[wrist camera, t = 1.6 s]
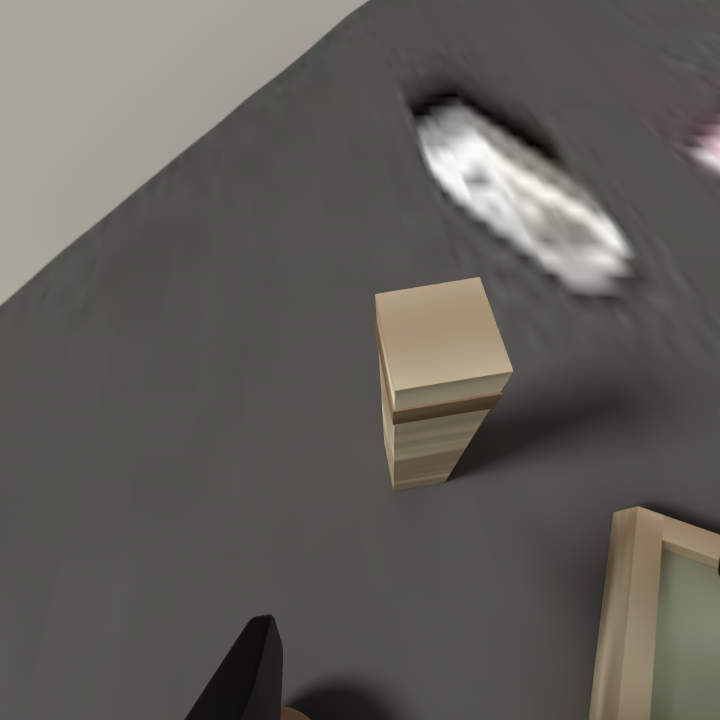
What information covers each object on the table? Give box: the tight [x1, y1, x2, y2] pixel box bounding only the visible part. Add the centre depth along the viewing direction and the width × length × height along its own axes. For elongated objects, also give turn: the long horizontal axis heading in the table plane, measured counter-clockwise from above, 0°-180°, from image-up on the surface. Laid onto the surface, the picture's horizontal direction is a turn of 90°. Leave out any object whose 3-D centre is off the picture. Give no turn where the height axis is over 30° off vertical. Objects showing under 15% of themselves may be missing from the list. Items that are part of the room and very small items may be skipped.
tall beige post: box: [375, 277, 513, 491], centre depth 15 cm, size 3×3×13 cm
